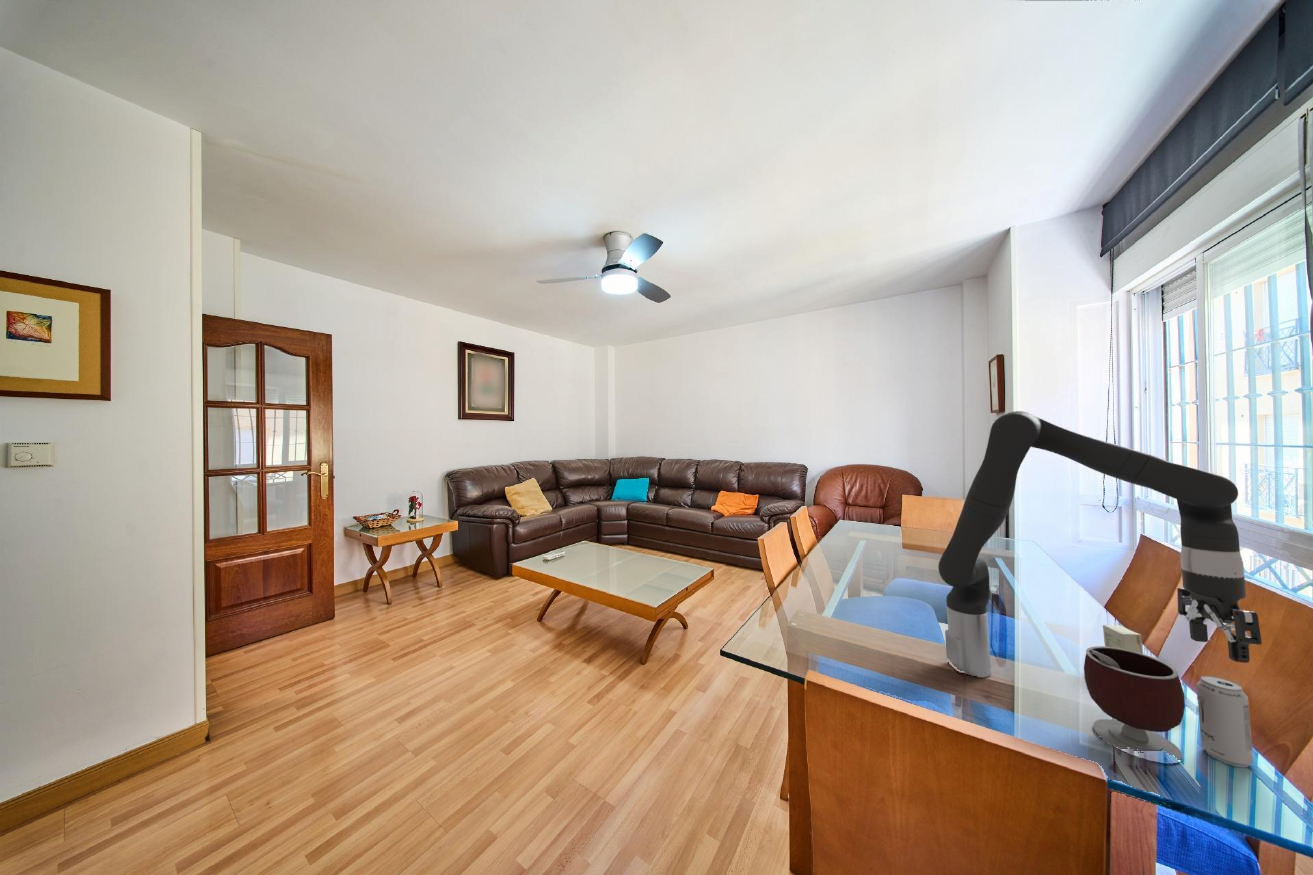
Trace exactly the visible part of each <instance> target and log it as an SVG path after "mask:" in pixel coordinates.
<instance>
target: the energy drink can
mask: <svg viewBox="0 0 1313 875" xmlns="http://www.w3.org/2000/svg"><path fill="white" fill-rule="evenodd" d="M1196 691H1197V692H1196V693H1197V707H1198V718H1199V719H1198V720H1199V729H1200V730H1199V731H1200V732H1199V733H1200V743H1201V744H1200V745H1201V747H1202V748H1203V749H1204V750H1205V751H1206V753H1207V754H1208V755H1209V756H1210V757H1212V758H1213V759H1215V760H1217V761H1219V762H1221V763H1224V764H1227V765H1229V766H1233V767H1238V768H1248V767H1249V766H1250V765H1253V764H1254V756H1253V755H1254V752H1253V742H1252V731H1251V730H1252V728H1251V717H1250V705H1249V704H1250V703H1249V697H1248V695H1246V693H1245V692H1244V690H1243V688H1242V686H1241V685H1240V684H1238V683H1237V682H1234V681H1231V680H1228V679H1226V678H1222V677H1217V676H1212V675H1202V676H1200V680H1199V681H1198V682H1197V683H1196Z"/></svg>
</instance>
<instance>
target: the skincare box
mask: <svg viewBox="0 0 1313 875" xmlns="http://www.w3.org/2000/svg"><path fill="white" fill-rule="evenodd" d="M1102 631H1103V632H1102V633H1103V643H1104V646H1105V647H1114V648H1121V649H1126V650H1130V651H1134V652H1138V653H1142V654H1144V651H1143V642H1142V634H1140V633H1138V632H1135V631H1133V630H1132V629H1129V628H1127V627H1124V626H1122V625H1115V624H1102Z"/></svg>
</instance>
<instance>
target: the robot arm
mask: <svg viewBox="0 0 1313 875" xmlns="http://www.w3.org/2000/svg"><path fill="white" fill-rule="evenodd" d="M1031 448H1035V449H1039V450H1042V451H1048V452H1049V453H1053V454H1056V455H1059V456H1062V457H1064V458H1067V459H1070V460H1071V461H1074V462H1076V463H1077V464H1080V465H1082V466H1084V467H1086V468H1088V469H1091V470H1094V471H1095V472H1098V473H1100V474H1103V475H1105V476H1108V477H1112V478H1114V479H1118V480H1121V481H1124V482H1127V483H1129V484H1132V485H1136V486H1140V487H1143V488H1146V489H1147V488H1148V489H1150V490H1153V491H1155V492H1157V493H1160V494H1163V495H1166V496H1168V497H1170V498H1173V499H1176V503H1177V508H1178V513H1179V515H1180V517H1179V518H1180V527H1179V528H1180V529H1179V530H1180V540H1181V549H1180V566H1181V567H1180V568H1181V578H1182V579H1181V580H1182V581H1181V582H1182V587H1177V591H1176V592H1177V593H1176V594H1177V612H1178V614H1179V615H1180V616H1183V617H1185V620H1186V621H1187V622H1188V623H1189V624H1188V626H1189V634H1190V636H1189V637H1190V639H1191V640H1193V641H1195V642H1200V643H1207V642H1208V641H1209V635H1208V624H1206V623H1207V621H1208V620H1210V621H1211V622H1214V624H1215V625H1216V627H1217V628H1218V629H1219V630H1220V631H1223V634H1225V636H1226V638H1227V648H1228V658H1229V659H1230V660H1231V661H1233V662H1235V663H1244V664H1247V663H1249V662H1250V659H1251V658H1250V648H1249V646H1250V645H1262V644H1263V643H1262V635H1261V628H1260V623H1259V622H1260V621H1259V615H1258V614H1257V612H1255V611H1251V610H1244V609H1241V608H1240V606H1239V603H1238V602H1239V601H1240V600H1245V598H1246V597H1247V591H1246V581H1245V580H1246V579H1245V578H1246V577H1245V568H1244V561H1243V559H1242V555H1241V548H1240V538H1239V531H1238V528H1237V526H1236V524H1235V522H1234V520H1233V511H1232V504H1233V503H1234V502H1235V501H1237V498H1238V497H1239V490H1238V488H1237V485H1236V484H1235V483H1234V482H1233V481H1232V480H1230V479H1228V478H1227V477H1226V476H1225V477H1224V476H1222V475H1220V474H1217V473H1214V472H1210V471H1204V470H1200V469H1197V468H1193V467H1189V466H1186V465H1183V464H1182V465H1181V464H1179V463H1174V462H1171V461H1168V460H1166V459H1164V458H1161V457H1159V456H1155V455H1153V454H1149V453H1146V452H1143V451H1140V450H1136V449H1134V448H1133V449H1132V448H1129V447H1126V446H1122V445H1119V444H1115V443H1113V442H1112V443H1111V442H1108V441H1105V440H1101V439H1099V438H1094V437H1091V436H1087V435H1084V434H1081V433H1077V432H1075V431H1072V430H1069V429H1066V428H1063V427H1061V426H1059V425H1056V424H1054V423H1051V422H1049V421H1047V420H1045V419H1043V418H1040V417H1038V416H1036V415H1035V414H1032V413H1030V412H1027V411H1020V410H1017V411H1011V412H1008V413H1005V414H1002V415H1001V416H999V417H998V418H996V419H995V420H994V422H993V423H992V425H991V427H990V432H989V436H988V441H987V445H986V449H985V454H984V457H983V459H982V463H981V464H980V466H979V469H978V471H977V472H976V474H975V476H974V478H973V480H972V483H971V485H970V487H969V489H968V492H967V495H966V497H965V500H964V503H963V506H962V509H961V512H960V515H959V517H958V520H957V522H956V526H955V529H954V531H953V534H952V536H951V538H950V540H949V542H948V544H947V546H946V547H945V550H944V551H943V553H942V555H941V557H940V559H939V561H938V573H939V576H940V578H941V579H942V580H943V582H944V583H945V584H947V585H948V586H951V587H952V588H951V589H950V591H949V593H947V595H946V599H945V600H946V601H945V602H946V612H947V613H946V614H947V616H946V617H947V628H948V629H945V631H944V636H945V637H944V638H945V651H946V653H945V654H946V659H947V658H948V659H949V660H950V662H952V664H953V665H954V666H955V667H957V669H958V670H960V671H964V672H965V673H967V674H969V675H973V676H977V677H976V678H988V677H990V676H991V675H992V670H991V669H992V665H991V654H990V638H989V636H990V635H989V624H988V623H989V622H988V621H989V620H988V609H987V608H988V604H989V602H990V597H991V596H990V593H991V592H990V589H991V588H990V572H989V567H988V565H987V562H986V561H985V559H984V558H983V557H982V556H981V555H980V553H981V550H982V549H983V547H984V546H985V544H986V543H987V542H988V541H989V540H990V539H991V537H993V535H994V534H995V533H996V532H997V531H998V530H999V529H1000V527H1001V526H1002V525H1003V523H1004V522H1005V519H1006V517H1007V515H1008V513H1009V510H1010V508H1011V506H1012V502H1013V498H1014V494H1015V491H1016V486H1017V485H1016V483H1017V477H1018V473H1019V470H1020V468H1021V465H1022V463H1023V461H1024V460H1025V459H1026V458H1025V457H1026V456H1027V454H1028V452H1029V451H1030V449H1031ZM1186 606H1189V607H1188V608H1187V609H1186ZM1233 622H1234V624H1233ZM1233 631H1234V632H1235V633H1234V632H1233ZM1248 632H1250V635H1249V633H1248ZM969 675H968V676H969ZM973 676H972V677H973Z"/></svg>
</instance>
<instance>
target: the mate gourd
mask: <svg viewBox="0 0 1313 875" xmlns="http://www.w3.org/2000/svg"><path fill="white" fill-rule="evenodd" d="M1085 652H1086V653H1085V656H1084V657H1085V658H1084V663H1083V673H1084V677H1083V678H1084V680H1085V681H1084V682H1085V685H1086V690H1087V691H1088V693H1089V696H1090V698H1091V699H1092V701H1093V702H1094V703H1095V704H1096V705H1097V707H1099V709H1100V710H1101V711H1102V712H1103V713H1104V714H1106V715H1107V716H1109V717H1110V719H1109V718H1105V719H1103V718H1101V719H1097V720H1095V721H1094V722H1093V724H1092V725H1093V726H1092V728H1093V727H1094V729H1093V731H1094V730H1095V731H1094V733H1095V732H1096V733H1097V734H1098V735H1099V736H1100V737H1101V738H1102V739H1104V740H1105V741H1106V742H1108V743H1109V744H1111V745H1114V746H1115V747H1118V748H1120V749H1128V748H1127V747H1130V749H1134V750H1133V751H1140V753H1144V752H1141V751H1162V750H1163V749H1164V751H1166V752H1165V753H1169V755H1174V756H1175V758H1177V760H1182V761H1183V759H1184V758H1183V753H1182V750H1181V749H1180V748H1179V747H1178V746H1177V744H1175V743H1173V742H1172V741H1171V740H1169V739H1168V738H1166V737H1164V736H1163V735H1160V734H1159V733H1164V732H1165V733H1167V732H1169V731H1171V730H1173V729H1174V728H1176V727H1177V726H1179V725H1181V724H1182V721H1183V719H1184V714H1185V709H1186V701H1185V693H1184V689H1183V688H1184V687H1183V686H1182V683H1181V682H1182V681H1181V679H1180V676H1179V671H1178V670H1177V669H1176V668H1175V667H1173V666H1172V665H1171V664H1169V663H1166V661H1163V660H1161V659H1159V658H1156V657H1153V656H1151V655H1147V654H1144V653H1143V654H1142V653H1138V652H1134V651H1130V650H1126V649H1121V648H1114V647H1105V645H1104V646H1102V645H1101V646H1100V645H1099V646H1098V645H1097V646H1090V647H1088V648H1087V649H1086V650H1085ZM1111 718H1112V719H1111ZM1096 733H1095V734H1096ZM1097 734H1096V735H1097ZM1098 735H1097V736H1098ZM1099 736H1098V737H1099ZM1100 737H1099V738H1100ZM1101 738H1100V739H1101ZM1102 739H1101V740H1102ZM1105 741H1104V742H1105ZM1106 742H1105V743H1106ZM1108 743H1107V744H1108ZM1109 744H1108V745H1109ZM1111 745H1110V746H1111ZM1115 747H1114V748H1115ZM1137 749H1138V750H1137ZM1138 753H1139V752H1138ZM1182 758H1183V759H1182Z"/></svg>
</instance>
